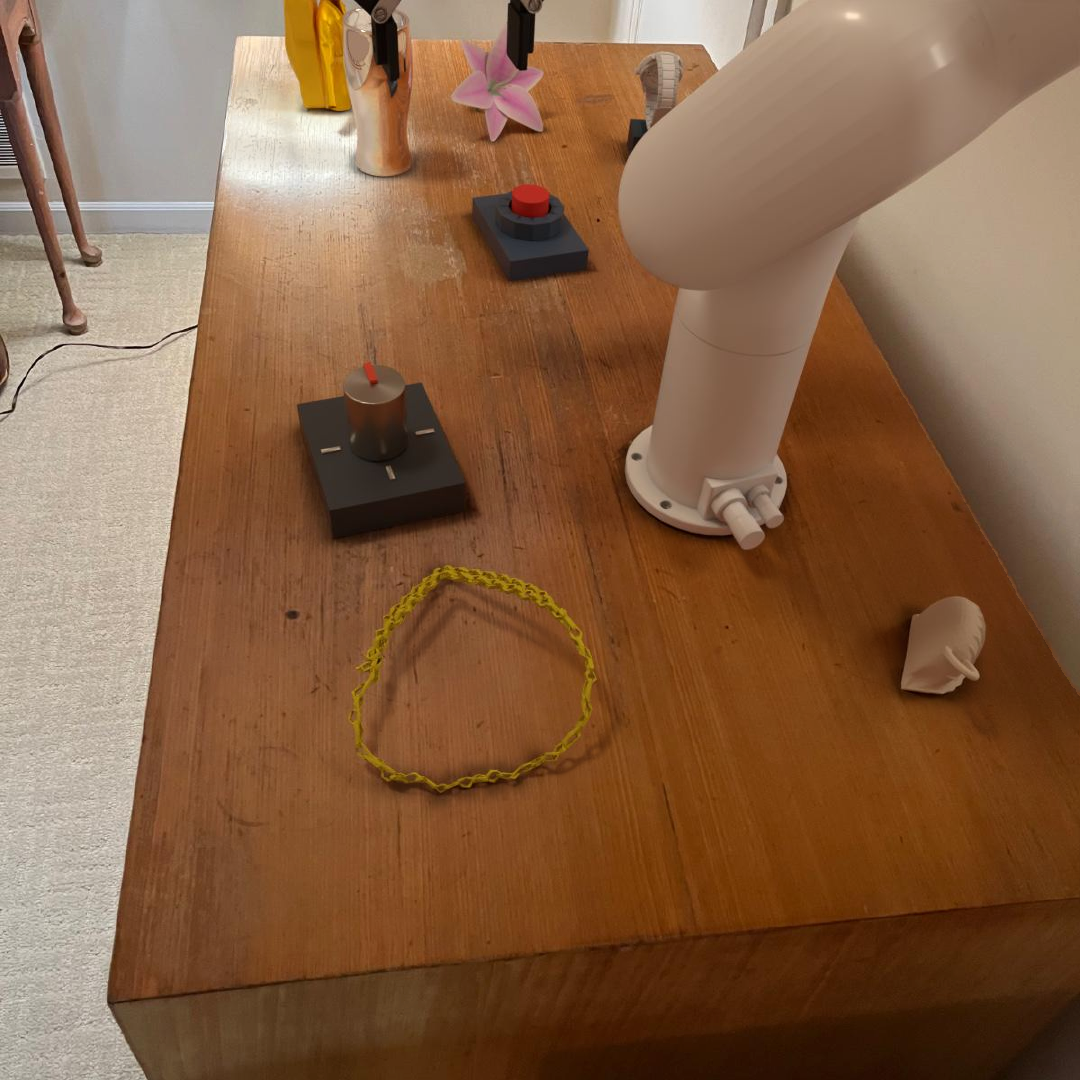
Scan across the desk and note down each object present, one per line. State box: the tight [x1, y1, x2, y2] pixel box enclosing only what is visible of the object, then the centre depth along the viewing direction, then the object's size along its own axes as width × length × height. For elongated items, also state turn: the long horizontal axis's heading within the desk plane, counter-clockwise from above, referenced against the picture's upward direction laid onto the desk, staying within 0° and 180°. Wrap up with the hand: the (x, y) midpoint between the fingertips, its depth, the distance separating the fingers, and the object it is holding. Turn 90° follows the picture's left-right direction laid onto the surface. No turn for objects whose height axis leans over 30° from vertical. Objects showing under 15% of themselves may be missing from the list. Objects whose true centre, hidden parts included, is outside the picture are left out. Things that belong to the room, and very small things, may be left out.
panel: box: [296, 382, 467, 539], centre depth 78 cm, size 12×10×3 cm
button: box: [511, 183, 550, 218], centre depth 99 cm, size 4×4×2 cm
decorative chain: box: [347, 564, 598, 794], centre depth 64 cm, size 16×15×5 cm
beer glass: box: [342, 6, 414, 178], centre depth 106 cm, size 7×7×15 cm
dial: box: [342, 361, 408, 461], centre depth 74 cm, size 4×4×6 cm
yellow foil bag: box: [283, 0, 352, 112], centre depth 112 cm, size 18×8×22 cm, turn 3°
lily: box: [450, 21, 545, 143], centre depth 117 cm, size 12×12×10 cm
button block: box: [471, 188, 590, 282], centre depth 101 cm, size 12×8×4 cm, turn 20°
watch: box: [626, 51, 685, 157], centre depth 112 cm, size 6×8×11 cm
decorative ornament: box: [900, 595, 987, 695], centre depth 67 cm, size 4×8×5 cm, turn 158°
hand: (454, 68), depth 75 cm, fingers open, 9 cm apart
